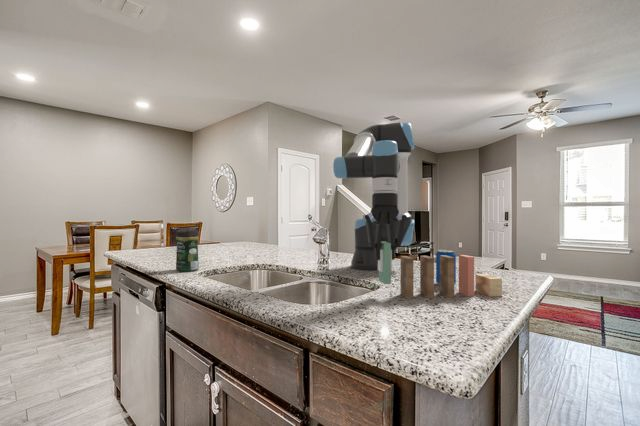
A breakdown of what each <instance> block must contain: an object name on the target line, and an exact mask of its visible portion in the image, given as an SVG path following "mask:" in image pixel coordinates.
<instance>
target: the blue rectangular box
mask: <svg viewBox="0 0 640 426" xmlns="http://www.w3.org/2000/svg"><path fill="white" fill-rule="evenodd" d="M440 255H447V256H450V257H454V285H456V282H457V281H456V280H457V276H456V275H457V273H456V271H457V268H456V267H457V258H456V257H457V256H456V253H455V250H453V249H452V250H451V249H438V250H437V252H436V253H435V282H436V284H437V285H439V286H440Z"/></svg>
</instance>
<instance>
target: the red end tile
mask: <svg viewBox="0 0 640 426" xmlns="http://www.w3.org/2000/svg"><path fill="white" fill-rule="evenodd" d="M458 293H460V294H461V295H463V296H466V297H474V296H475V256H471V255H467V254H458Z"/></svg>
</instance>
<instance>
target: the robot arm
mask: <svg viewBox="0 0 640 426" xmlns="http://www.w3.org/2000/svg"><path fill="white" fill-rule="evenodd" d="M414 149H415V141H414V134H413V127H412V124H411V123H410V122H407V121H406V122H392V123H384V124H383V123H381V124H380V123H379V124H375V125H371V126H368V127H366V128H364V129H363V130H361V131H360V132H358V134H357V135H356V136H355V137H354V139H353V144H352V146H351V148H350V149H349V150H348V152H347V153H346V155H345V156H337V157H335V158H334V160H333V164H332V165H333V167H332V168H333V174H334V177H335V178H336V179H345V180H346V179H362V178H363V179H365V178H366V179H367V178H370V179H372V180H371V182H372V183H371V191H372V195H371V200H372V201H371V203H372V207H371V209H370V212H369V213H367V214H363V216H362V218H358V219H356V220H355V223H354V252H353V255H352V258H351V263H350V266H351V268H352V267H353V268H352V269H357V270H366V271H372V270H373V271H374V270H377V271H378V272H379V271H380V272H383V250H382V249H380V248H381V242H388V243H391V272H393V271H392V270H393V260H395V258H396V256H395V255H396V253H395V252H396V249H397V248H400V247H403V246H410V245H411V244H412V242H413V238H414V236H413V234H414V229H415V219H412V214H410V213H409V211H408V207H409V203H408V202H409V201H408V200H409V199H408V196H409V195H408V194H409V193H408V192H409V191H408V190H409V189H408V188H409V185H408V169H409V168H408V164H409V163H408V158H409V156H411V154H412V150H414Z"/></svg>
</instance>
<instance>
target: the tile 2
mask: <svg viewBox="0 0 640 426" xmlns="http://www.w3.org/2000/svg"><path fill="white" fill-rule="evenodd" d="M400 295H401V296H402V297H403V298H405V299H407V300H411V299H412V300H413V299H414V257H410V256H407V255H400Z"/></svg>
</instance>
